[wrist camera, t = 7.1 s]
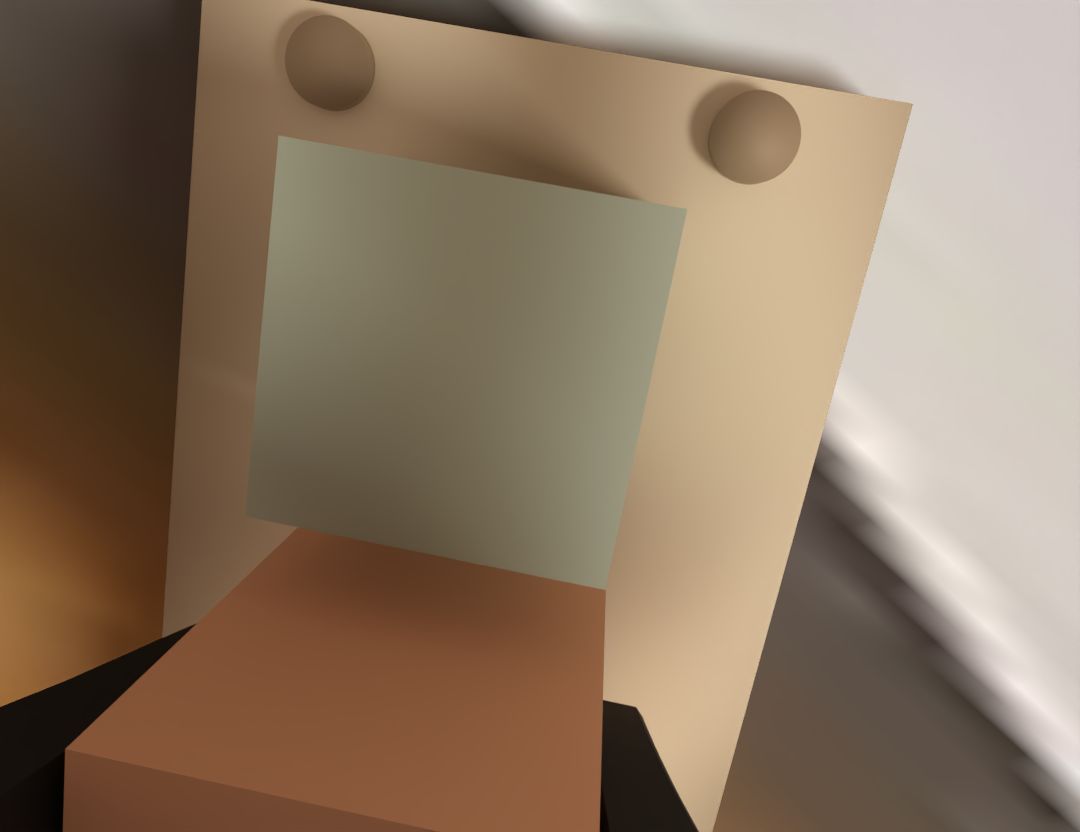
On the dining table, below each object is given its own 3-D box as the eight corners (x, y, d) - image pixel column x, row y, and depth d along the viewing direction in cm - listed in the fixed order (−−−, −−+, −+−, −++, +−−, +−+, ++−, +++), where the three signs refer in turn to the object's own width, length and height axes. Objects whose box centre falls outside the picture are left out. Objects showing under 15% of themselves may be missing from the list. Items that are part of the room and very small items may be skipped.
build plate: (168, 930, 17) (-16, 1221, 12) (235, 0, 12) (-16, -147, 7) (638, 1039, 16) (649, 1389, 11) (888, 114, 12) (1081, 35, 7)
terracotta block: (286, 761, 13) (53, 1143, 8) (314, 511, 12) (65, 749, 6) (553, 820, 13) (507, 1254, 7) (605, 570, 12) (598, 866, 6)
